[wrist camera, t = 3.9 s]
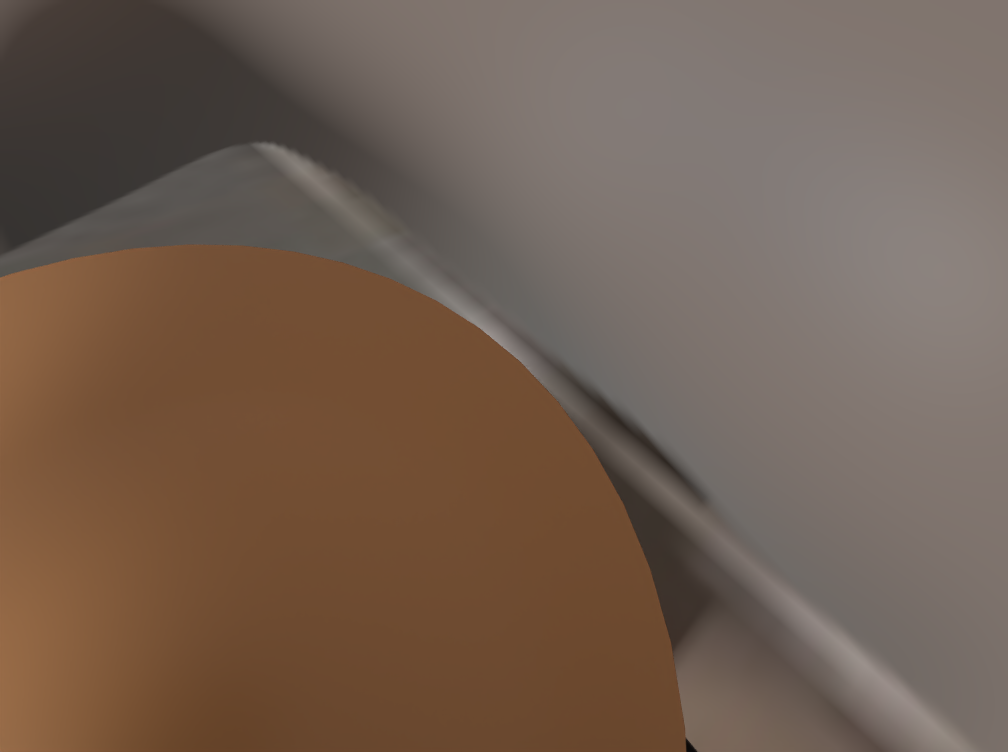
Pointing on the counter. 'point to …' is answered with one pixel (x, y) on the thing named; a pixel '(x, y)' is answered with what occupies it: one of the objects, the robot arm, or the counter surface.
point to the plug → (302, 524)
